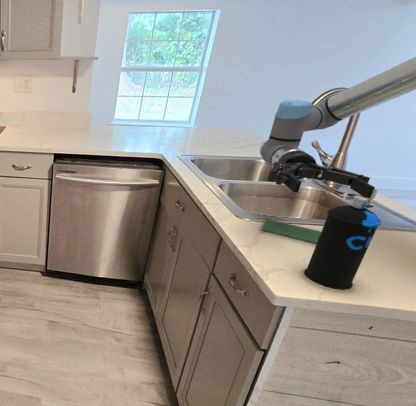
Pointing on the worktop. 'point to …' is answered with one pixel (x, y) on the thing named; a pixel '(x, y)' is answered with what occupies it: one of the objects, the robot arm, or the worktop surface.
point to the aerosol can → (342, 244)
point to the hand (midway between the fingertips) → (333, 189)
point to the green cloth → (291, 231)
